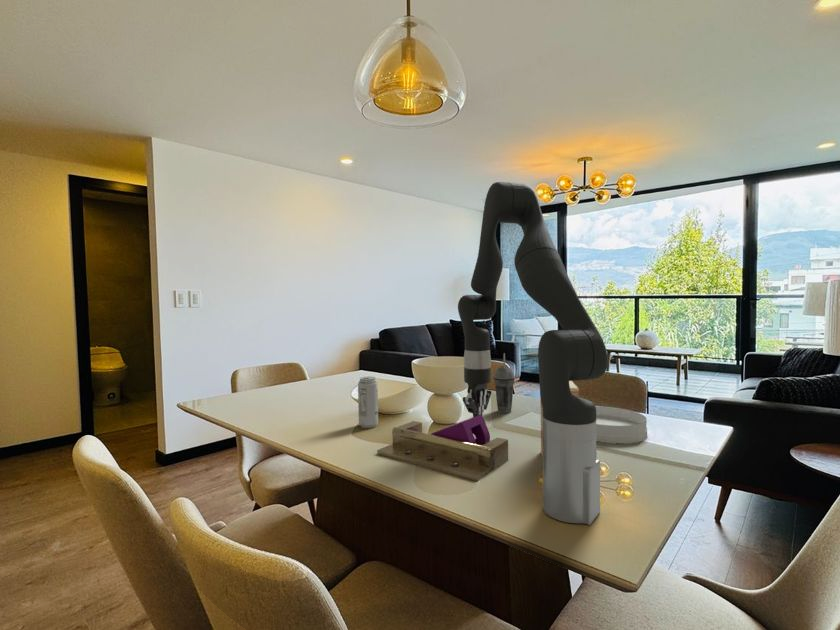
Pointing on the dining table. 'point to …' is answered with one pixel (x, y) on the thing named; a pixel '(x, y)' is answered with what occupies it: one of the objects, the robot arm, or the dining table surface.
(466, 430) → the mounting bracket
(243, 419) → the dining table surface
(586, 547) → the dining table surface
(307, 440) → the dining table surface
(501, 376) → the beverage cup
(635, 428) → the dish
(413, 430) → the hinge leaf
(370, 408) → the energy drink can
